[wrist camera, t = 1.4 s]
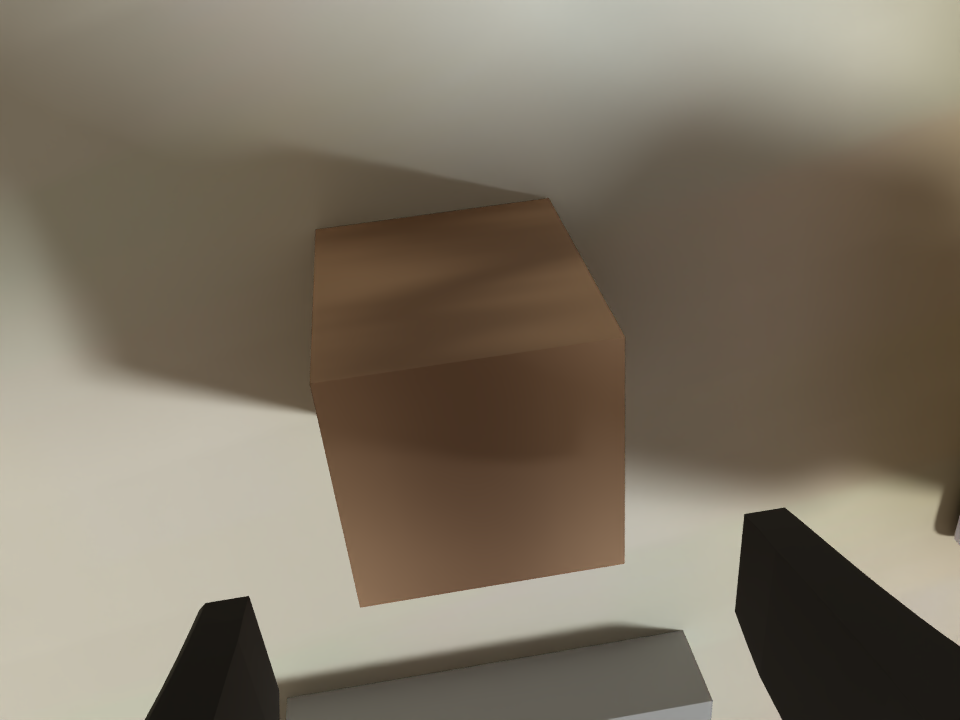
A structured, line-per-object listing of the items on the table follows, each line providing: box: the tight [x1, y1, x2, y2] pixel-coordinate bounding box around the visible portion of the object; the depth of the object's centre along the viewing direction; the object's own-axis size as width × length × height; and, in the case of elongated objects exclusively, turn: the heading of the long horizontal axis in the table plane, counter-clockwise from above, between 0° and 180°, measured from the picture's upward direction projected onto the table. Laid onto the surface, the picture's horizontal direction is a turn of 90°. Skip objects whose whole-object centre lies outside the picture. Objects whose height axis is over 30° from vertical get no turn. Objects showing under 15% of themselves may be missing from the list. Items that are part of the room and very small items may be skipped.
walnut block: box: [310, 198, 625, 607], centre depth 18 cm, size 5×5×6 cm
